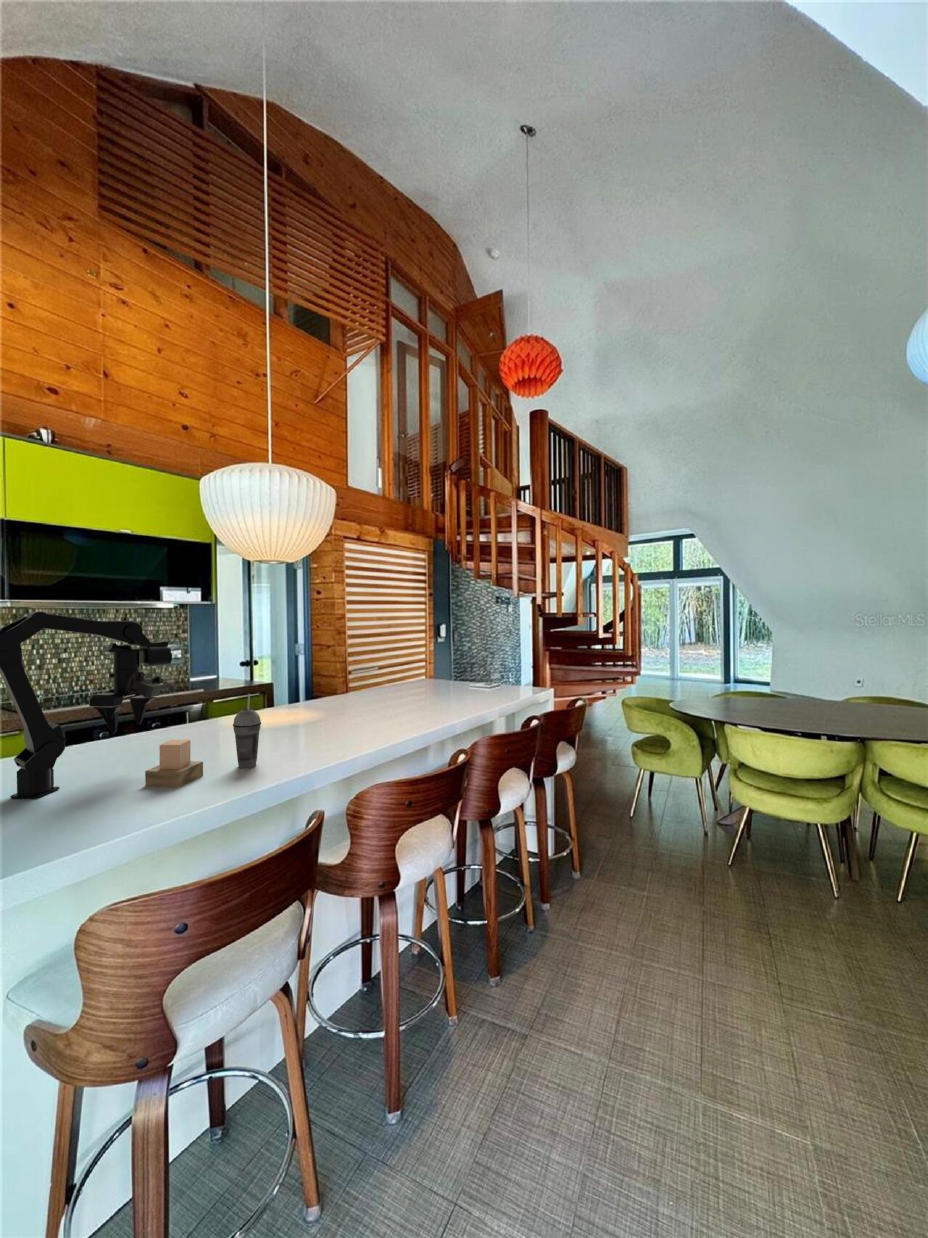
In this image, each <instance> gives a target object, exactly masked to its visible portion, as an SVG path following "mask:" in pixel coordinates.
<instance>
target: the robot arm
mask: <svg viewBox="0 0 928 1238" xmlns="http://www.w3.org/2000/svg"><path fill="white" fill-rule="evenodd" d="M45 629H46V630H54V631H61V632H69V633H78V634H85V635H86V634H87V635H93V636H98V637H101V638H104V639H106V640H107V639H108V640H111V641H115V642H117V643H123V645H122V644H121V645H120V644H117V643H115V642H110V644H108V646H107V647H105V648H104V649H103V652H105V653H113V654H112V656H113V658H112V659H113V661H112V662H113V665H112V666H113V667H112V671H113V672H111V673H110V672H109V674H108V676H109V677H108V678H112V679H113V681H112V683H113V686H112V687H113V688H109V690H108V691H109V692H100V693H96V694H92V695H90V697H89V698H88V703H89V704H88V706H89V707H93V709H94V710H97V712H98V714H100V717H101V718H102V719H103V720H104V723H105V724H106V726H107V727H108V729H109V731H110V732H112V733H116V732H117V731H118V724H119V712H120V711H121V709H122V708H123V707H124V704H122V703H123V701H124V700H126V699H127V700H128V699H129V701H130V706H131V710H132V714H133V717H134V721H135V724H136V725H142V722H143V720H144V716H145V714H146V712H147V711H146V710H147V708H148V707H149V704H150V703H151V702H153V701H154V700H155V699H157V697H158V696H160V695H161V694H160V692H161V690H164V689H165V679H164V677H162V676H155V677H153V678H147V677H145V673H144V671H143V670H142V671H140V664H141V665H143V666H144V667H145V668H153V667H162V666H163V667H164V666H170V665H171V663H172V661H173V653H172V650H171V647H170V645H169V641H166V640H163V641H162V640H161V641H154V642H153V641H150V640H149V639H148V637H146V635H145V634H144V633H143V628H142V626H141V625H140V623H138V622H137V621H134V620H97V619H96V620H95V619H89V618H82V617H74V616H68V615H61V614H54V613H48V612H46V611H32V612H29V613H28V614H26V615H25V616H23V617H22V618H19V619H17V620H15V621H13V622H11V623H9V624H7V625H5V626H3V627H1V628H0V676H1V679H2V681H3V683H4V686H5V688H6V690H7V691H8V694H9V696H10V699H11V701H12V703H13V705H14V708H15V709H16V712H17V715H18V716H19V718H20V721H21V722H22V725H23V739H24V745H25V747H24V749H22V750H21V751H20V752H19V753H18V754H17V755H16V756H15V757H13V761H14V763H15V765H16V767H18V768H19V769H18V770H16V793H14V794H11V795H10V799H39V798H41V797H44V796H45V795H48V794H50V793H53V792H55V791H58V790H60V786H55V785H54V784H55V783H54V782H55V777H54V775H55V774H54V772H55V771H54V766H55V764H56V762H57V759H58V758H59V757H61V756H62V754H63V753H64V751H65V750H66V745H65V742H67V741H68V739H67V738H65V736H64V734H63V731H62V728H61V727H62V726H61V725H59V724H57V723H55V722H53V721H52V722H48V720H47V719H46V716H45V713H44V712H43V709H42V708H41V704H40V702H39V700H38V698H37V696H36V693H35V692H34V689H33V687H32V684H31V682H30V680H29V678H28V675H27V672H26V671H25V668H24V665H23V650H22V646H21V644H22V643H24V642H25V641H27V640H29V639H31V638H32V637H33V636H34V635H36V634H37V633H39V632H41V630H45ZM124 643H126V644H124ZM132 646H136V647H137V648H136V647H135V648H133V647H132ZM138 646H139V648H138Z"/></svg>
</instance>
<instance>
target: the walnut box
mask: <svg viewBox="0 0 928 1238" xmlns="http://www.w3.org/2000/svg"><path fill="white" fill-rule="evenodd" d="M203 776H204V761H200V760H199V761H198V760H190V764H188V765H186V766H185V767H183V768H181V769H160V764H159V765H157V766H156V765H155V766H154V767H152V768H149V769H147V770H145V771H144V777H145V779H144V780H145V781H144V782H145V783H144V784H145V786H146V787H164V788H178V787H179V788H181V787H182V786H183V787H184V786H185V785H187V784H189V783H191V782H193V781H195V780H197V779H199V778H201V777H203ZM188 782H189V783H188ZM184 784H185V785H184Z"/></svg>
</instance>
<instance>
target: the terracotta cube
mask: <svg viewBox="0 0 928 1238" xmlns="http://www.w3.org/2000/svg"><path fill="white" fill-rule="evenodd" d="M190 761H191V739H169V740H167V741H165V742H163V743H161V744H159V765H160V769H181V768H183V767H185V766H186V765H188V764H190Z"/></svg>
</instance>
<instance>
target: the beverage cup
mask: <svg viewBox="0 0 928 1238" xmlns="http://www.w3.org/2000/svg"><path fill="white" fill-rule="evenodd" d="M250 699H251V693H247V707H246V709H242V710H240V711H239V712H237V713H236V715H235V717H234V718H233V724H232V728H233V732H234V737H235V747H236V757H237V764H238V768H239V769H251V768H254V766H255V767H256V766H257V761H258V753H259V752H258V751H259V741H260V740H259V738H260V730H261V725H262V720H261V717H260V715H259V714H258V712H257V711H255V710H254V709H252V708H250V704H251V703H250V701H251V700H250Z"/></svg>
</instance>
